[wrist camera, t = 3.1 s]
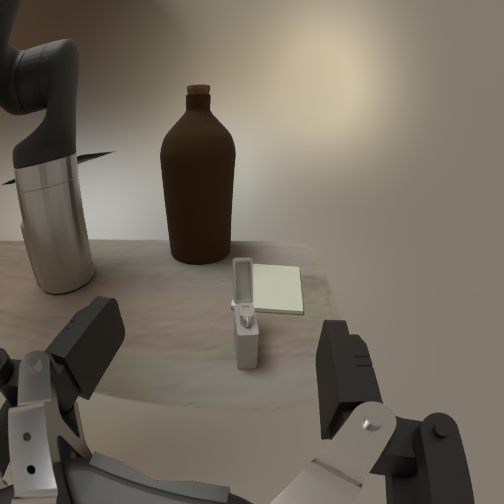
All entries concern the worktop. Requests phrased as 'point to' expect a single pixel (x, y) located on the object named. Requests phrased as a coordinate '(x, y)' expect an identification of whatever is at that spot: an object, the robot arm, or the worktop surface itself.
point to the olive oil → (198, 182)
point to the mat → (276, 289)
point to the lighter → (244, 314)
